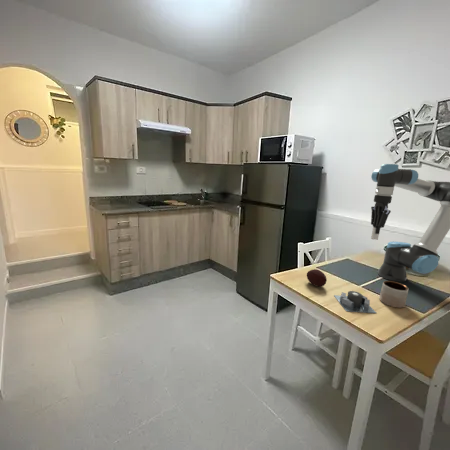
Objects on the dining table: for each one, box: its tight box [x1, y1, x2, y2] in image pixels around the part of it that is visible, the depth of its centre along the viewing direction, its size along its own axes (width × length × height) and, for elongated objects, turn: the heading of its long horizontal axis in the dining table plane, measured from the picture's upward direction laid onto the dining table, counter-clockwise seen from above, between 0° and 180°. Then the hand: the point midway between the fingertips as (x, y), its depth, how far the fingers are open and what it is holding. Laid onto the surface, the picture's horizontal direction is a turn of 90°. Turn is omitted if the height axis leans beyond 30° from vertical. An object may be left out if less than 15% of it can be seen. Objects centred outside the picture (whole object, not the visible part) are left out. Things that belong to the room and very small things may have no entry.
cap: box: [346, 290, 364, 307], centre depth 117 cm, size 6×6×5 cm
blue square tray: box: [333, 292, 377, 314], centre depth 117 cm, size 14×14×3 cm
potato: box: [306, 268, 328, 288], centre depth 134 cm, size 9×12×9 cm
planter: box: [379, 280, 410, 309], centre depth 120 cm, size 11×11×10 cm
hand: (374, 239), depth 127 cm, fingers closed
